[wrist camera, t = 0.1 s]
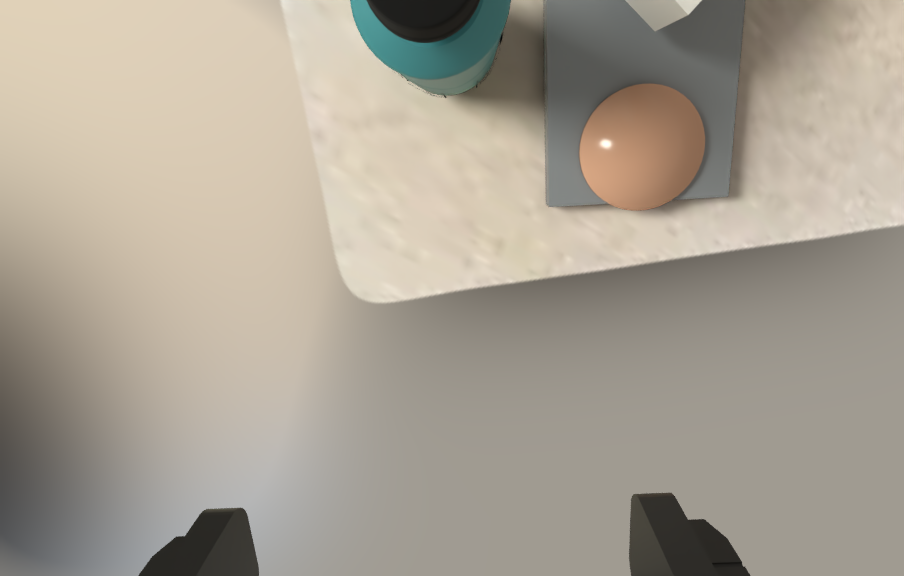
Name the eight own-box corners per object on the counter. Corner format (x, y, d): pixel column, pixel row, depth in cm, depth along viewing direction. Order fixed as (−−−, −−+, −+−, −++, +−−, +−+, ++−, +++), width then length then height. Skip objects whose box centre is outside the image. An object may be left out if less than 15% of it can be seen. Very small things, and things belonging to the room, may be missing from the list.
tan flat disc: (579, 88, 34) (580, 87, 34) (706, 79, 34) (709, 79, 33) (578, 212, 37) (579, 213, 36) (697, 205, 36) (700, 206, 36)
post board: (542, -109, 32) (563, -176, 25) (744, -127, 32) (824, -200, 25) (545, 203, 38) (563, 222, 31) (718, 194, 37) (777, 210, 30)
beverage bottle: (516, 60, 35) (572, -14, 16) (433, 120, 37) (395, 115, 17) (460, -31, 34) (450, -233, 15) (377, 34, 35) (267, -74, 16)
